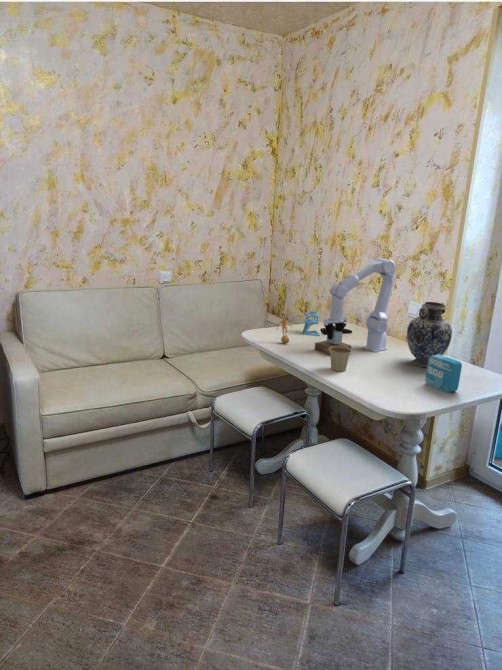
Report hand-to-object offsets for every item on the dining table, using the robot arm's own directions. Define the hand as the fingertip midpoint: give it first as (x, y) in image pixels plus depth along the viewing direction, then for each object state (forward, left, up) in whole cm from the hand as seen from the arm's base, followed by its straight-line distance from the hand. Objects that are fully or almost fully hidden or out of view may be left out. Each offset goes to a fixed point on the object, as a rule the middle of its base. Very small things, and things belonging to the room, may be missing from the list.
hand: (333, 338), depth 226 cm
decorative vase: (-22, +35, -7) cm, 42 cm away
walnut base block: (0, 0, -7) cm, 7 cm away
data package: (-1, +55, -7) cm, 55 cm away
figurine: (+11, -22, -7) cm, 25 cm away
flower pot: (+18, +19, -7) cm, 27 cm away
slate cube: (0, 0, -2) cm, 2 cm away
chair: (-14, -28, -7) cm, 32 cm away
